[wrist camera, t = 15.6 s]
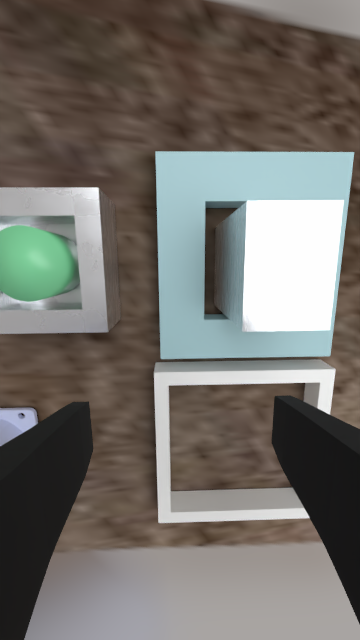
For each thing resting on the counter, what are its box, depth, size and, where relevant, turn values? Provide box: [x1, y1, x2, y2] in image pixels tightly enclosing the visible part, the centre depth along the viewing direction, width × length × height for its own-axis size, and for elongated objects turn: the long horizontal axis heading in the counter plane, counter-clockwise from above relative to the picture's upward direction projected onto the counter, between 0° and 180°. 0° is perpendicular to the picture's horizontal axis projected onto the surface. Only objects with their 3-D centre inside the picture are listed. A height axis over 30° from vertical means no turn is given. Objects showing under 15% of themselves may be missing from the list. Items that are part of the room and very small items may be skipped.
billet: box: [214, 200, 344, 332], centre depth 15 cm, size 4×6×8 cm
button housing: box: [0, 188, 121, 334], centre depth 17 cm, size 8×8×4 cm
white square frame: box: [154, 359, 335, 523], centre depth 21 cm, size 13×13×2 cm
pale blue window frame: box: [156, 152, 354, 359], centre depth 18 cm, size 12×13×2 cm
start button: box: [0, 225, 80, 302], centre depth 16 cm, size 4×4×4 cm
